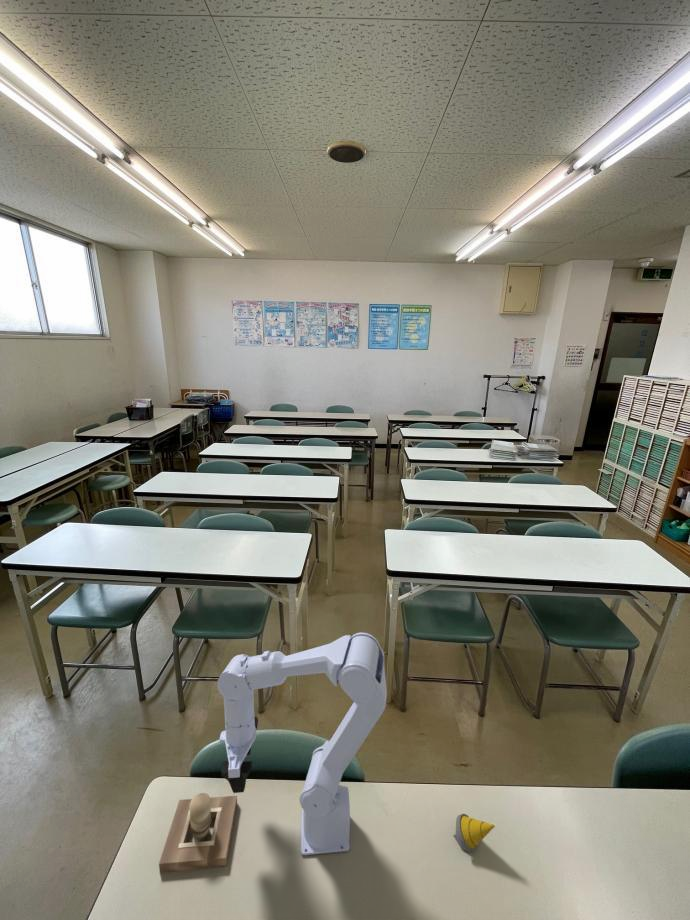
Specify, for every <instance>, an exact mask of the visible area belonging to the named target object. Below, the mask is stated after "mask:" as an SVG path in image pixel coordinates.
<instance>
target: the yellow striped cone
mask: <svg viewBox="0 0 690 920" xmlns="http://www.w3.org/2000/svg"><path fill="white" fill-rule="evenodd" d="M495 827H496V825H495V824H492V823H488V822H485V821H482V820H479V819H475V818H473V817H470V816H469V815H468V814H466V813H461V814H458V815H457V817H456V820H455V834H453V837H454V839H455V841H456V842H457V844H458V846H459V848H460V850H461V851H465V852H468V853H471V852H474V851H476V850H477V848H478V845H479V844H480V842H481V841H483V839H484V838H485V837H486V836H488V834H489V833H490V832H491V831H492V830H493V829H494V828H495Z"/></svg>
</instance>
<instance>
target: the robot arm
mask: <svg viewBox="0 0 690 920" xmlns="http://www.w3.org/2000/svg"><path fill="white" fill-rule="evenodd" d="M385 670H386V669H385V652H384V650H383V649H382V647H381V645H380V643H379V641H378V639H377V638H376V637H375V636H373V635H372V634H370V633H368V632H357V633H354V634H353V635H352V636H351V635H350V634H347V635H342V636H341V637H339V638H338V639H335V640H334V641H332V642H330V643H327V644H323V645H320V646H317V647H313V648H310V649H307V650H302V651H298V652H295V653H292V654H289V655H285V654H284V653H283V652H282V651H279V650H278V651H272V652H271V651H270V650H266V651H264V652H263V653H262V654H259V655H252V656H250V655H248V654H243V653H242V654H241V653H240V654H237V655H235V656H234V657H232V658H231V660H230V661H229V663H228V664H227V666H226V667H225V669H224V670H223V671H222V673H221V674H220V676H219V677H218V678H217V683H216V684H217V685H216V686H217V687H216V688H217V690H218V692H219V694H220V695H221V696H222V697H223V709H224V723H225V724H224V727H225V729H224V730H223V731H221V732H220V735H219V743H224V744H225V750H226V757H227V760H223V761H222V763H221V768H220V773H221V777H223V778H224V779H226V780H227V783H229V785H230V787H231V790H232V792H233V794H236V793H237V794H238V793H244V792H245V789H246V783H247V778H248V776H249V775H250V773H251V770H252V765H253V760H252V761H251V760H250V761H245V758H246V756H250V755H251V752H252V745H253V743H254V742H255V740H256V738H257V737H256V736H257V729H258V724H259V718H258V716H255V699H254V697H255V696H254V695H255V694H254V691H255V690H260V689H264V688H271V687H276V686H281V685H283V684H284V683H285V681H286V680H287V678H288V677H294V676H305V675H306V676H307V675H314V674H315V675H316V674H317V675H318V674H325V675H326V677H327V678H328V679H329V681H330V682H331V683H332V685H333V686H335V687H336V688H337V687H338V684H339V686H340V688H341V689H342V690H343V692H344V693H345V694H346V695H347V696H348V697H349V698H350V699H351V700H352V701H353V703H352V705H351V706H350V707H349V709H348V710H347V712H346V714H345V716H344V717H343V719H342V721H341V722H340V724H339V725H338V727H337V729H336V730H335V732H334V734H332V737H331V738H330V740H326V741H324V743H323V744H322V745H321V746H319V747H316V748H315V749H314V750H313V752H312V754H311V755H312V756H311V762H310V765H309V767H308V770H307V771H308V772H307V774H306V777H305V778H306V779H305V782H304V786H303V788H302V791H301V792H300V796H299V804H300V807H301V808H302V809H301V823H300V824H301V826H300V827H301V831H300V833H301V835H300V854H301V855H302V856H309V855H318V854H330V853H341V852H348V851H350V848H351V846H350V832H351V831H350V827H351V811H350V810H351V809H350V794H349V793H350V791H349V787H348V786H346V785H341V781H342V778H343V774H344V772H345V771H346V769H347V768H348V766H349V765H350V763H351V761H352V760H353V758H354V757H355V755H356V754H357V753H358V751H359V749H360V748H361V747H362V745H363V743H364V742H365V740H366V739H367V737H368V736H369V734H370V733H371V732H372V730H373V728H374V727H375V725H376V723H377V722H378V721H379V718H380V717H381V716H382V714H383V712H384V711H385V709H386V707H387V697H388V689H387V681H386V671H385Z"/></svg>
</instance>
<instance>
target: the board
mask: <svg viewBox="0 0 690 920" xmlns="http://www.w3.org/2000/svg"><path fill="white" fill-rule="evenodd" d="M192 799H193V798H187V799H179V800H178V804H177V807H176V810H175V812H174V815H173V819H172V822H171V826H170V828H169V831H168V835H167V837H166V841H165V844H164V846H163V849H162V853H161V857H160V859H159V861H158V862H159V863H158V868H159V873H165V872H167V873H168V872H177V871H178V872H179V871H187V870H188V871H190V870H200V869H210V868H211V869H212V868H221V867H227V862H228V855H229V851H230V846H231V839H232V835H233V830H232V829H233V828H234V824H235V823H234V822H235V818H236V817H235V816H236V811H237V808H238V807H237V806H238V796H237V795H229V796H226V795H225V796H217V797H216V796H213V797H210V807H211V821H214V820H215V821H214V826H213V829H212V830H213V831H212V834H211V838H210V840H206V841H204V842H195V841H193V842H188V838H189V834H190V831H191V822H190V808H189V806H190V802H191V800H192Z"/></svg>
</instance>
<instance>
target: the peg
mask: <svg viewBox="0 0 690 920" xmlns="http://www.w3.org/2000/svg"><path fill="white" fill-rule="evenodd" d="M210 798H211V797H210V796H209V794H208V793H206V792H200V793H197V794H196V795H195V796H193V798H191V799H192V800H191V802H190V806H189V808H190V822H191V828H190V831H191V833H192V834H193V840H194V841H193V842H204V841H208V839H209V837H210V834H211V828H210V827H211V823H212V820H211V807H210Z"/></svg>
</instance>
